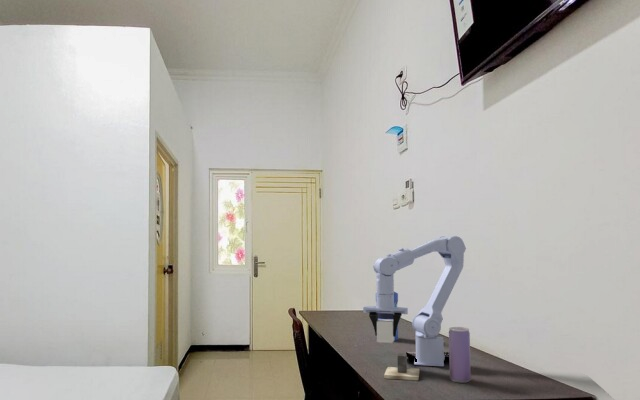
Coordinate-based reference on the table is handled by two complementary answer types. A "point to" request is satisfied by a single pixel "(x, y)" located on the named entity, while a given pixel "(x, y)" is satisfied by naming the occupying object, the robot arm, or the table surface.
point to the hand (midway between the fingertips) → (385, 335)
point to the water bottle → (388, 315)
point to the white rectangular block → (385, 331)
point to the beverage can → (459, 354)
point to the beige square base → (402, 370)
